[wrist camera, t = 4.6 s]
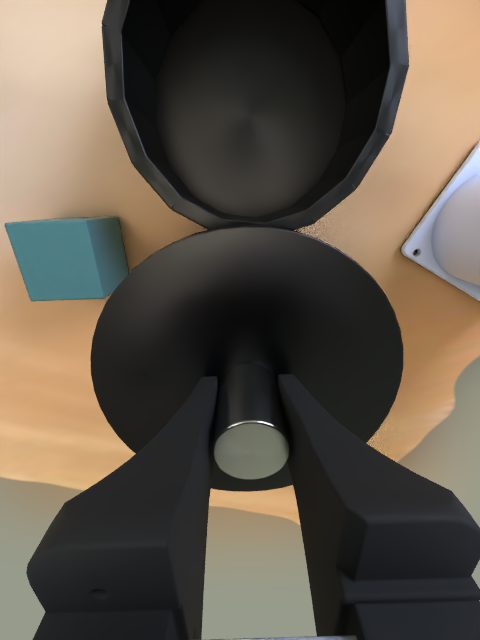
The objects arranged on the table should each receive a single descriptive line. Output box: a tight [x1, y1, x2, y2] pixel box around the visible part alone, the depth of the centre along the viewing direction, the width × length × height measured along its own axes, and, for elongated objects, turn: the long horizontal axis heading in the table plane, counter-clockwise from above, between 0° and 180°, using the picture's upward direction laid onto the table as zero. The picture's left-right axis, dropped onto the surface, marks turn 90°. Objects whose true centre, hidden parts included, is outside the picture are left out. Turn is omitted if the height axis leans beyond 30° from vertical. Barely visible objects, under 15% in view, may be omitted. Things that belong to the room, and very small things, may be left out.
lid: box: [91, 225, 403, 491], centre depth 11 cm, size 14×14×5 cm
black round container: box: [102, 0, 409, 230], centre depth 14 cm, size 13×13×5 cm
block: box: [5, 216, 129, 301], centre depth 18 cm, size 4×4×4 cm
